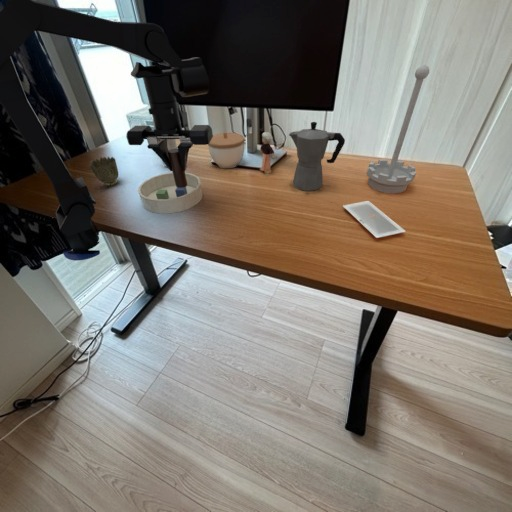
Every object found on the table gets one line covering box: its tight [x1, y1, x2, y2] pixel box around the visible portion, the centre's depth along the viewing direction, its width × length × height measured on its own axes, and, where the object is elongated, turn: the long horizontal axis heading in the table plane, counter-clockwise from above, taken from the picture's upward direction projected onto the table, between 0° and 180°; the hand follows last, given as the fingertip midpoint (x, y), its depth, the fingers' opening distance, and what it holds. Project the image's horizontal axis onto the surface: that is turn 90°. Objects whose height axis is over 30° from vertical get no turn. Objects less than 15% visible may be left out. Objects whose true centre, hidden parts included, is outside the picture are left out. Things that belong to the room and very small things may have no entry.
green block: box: [156, 190, 169, 199], centre depth 77 cm, size 2×2×2 cm
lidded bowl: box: [207, 131, 245, 169], centre depth 93 cm, size 13×13×11 cm
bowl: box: [137, 171, 204, 215], centre depth 78 cm, size 17×17×4 cm
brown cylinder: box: [168, 149, 187, 188], centre depth 67 cm, size 3×3×9 cm
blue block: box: [175, 187, 187, 197], centre depth 78 cm, size 2×2×2 cm
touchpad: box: [342, 200, 407, 239], centre depth 67 cm, size 8×15×2 cm, turn 16°
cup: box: [88, 156, 119, 188], centre depth 84 cm, size 8×7×8 cm
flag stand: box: [366, 64, 430, 194], centre depth 72 cm, size 13×13×30 cm
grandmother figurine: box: [259, 131, 276, 175], centre depth 87 cm, size 8×4×13 cm, turn 45°
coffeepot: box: [288, 121, 346, 192], centre depth 77 cm, size 15×9×18 cm, turn 72°
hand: (178, 170), depth 68 cm, fingers closed on brown cylinder, 3 cm apart
